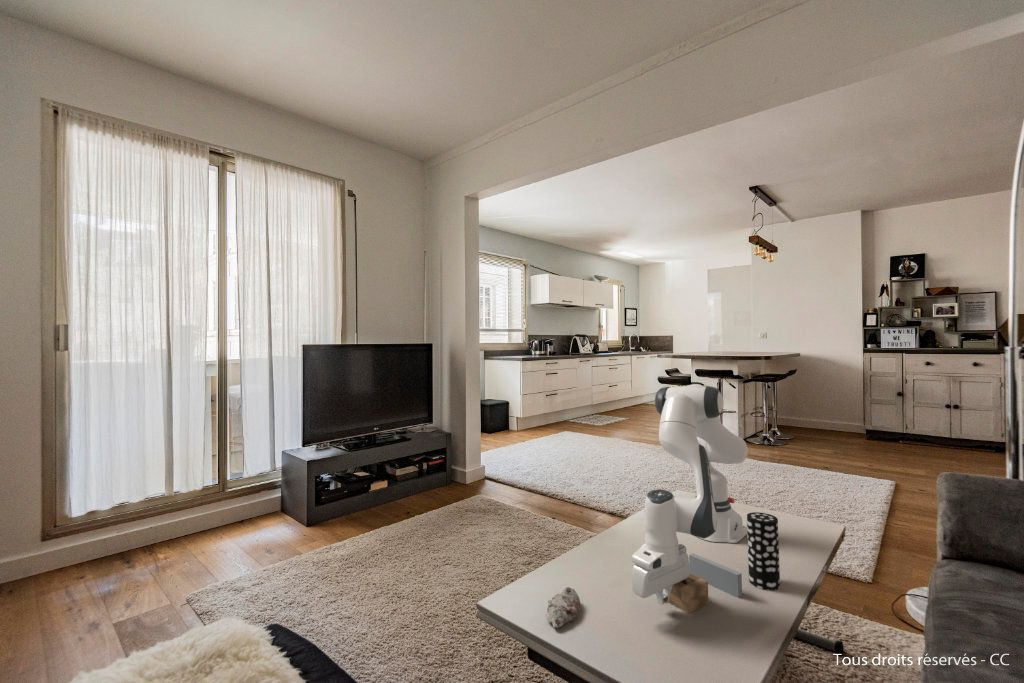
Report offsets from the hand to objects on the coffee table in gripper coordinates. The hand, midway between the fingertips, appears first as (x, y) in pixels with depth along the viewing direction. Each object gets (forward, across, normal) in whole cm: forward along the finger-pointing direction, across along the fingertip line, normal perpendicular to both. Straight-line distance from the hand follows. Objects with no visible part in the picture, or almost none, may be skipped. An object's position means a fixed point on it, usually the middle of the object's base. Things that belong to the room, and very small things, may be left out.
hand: (663, 602), depth 126 cm
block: (+2, -9, 0) cm, 10 cm away
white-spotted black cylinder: (+3, -37, +8) cm, 38 cm away
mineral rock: (+3, +23, -14) cm, 27 cm away
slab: (+2, -24, 0) cm, 24 cm away
